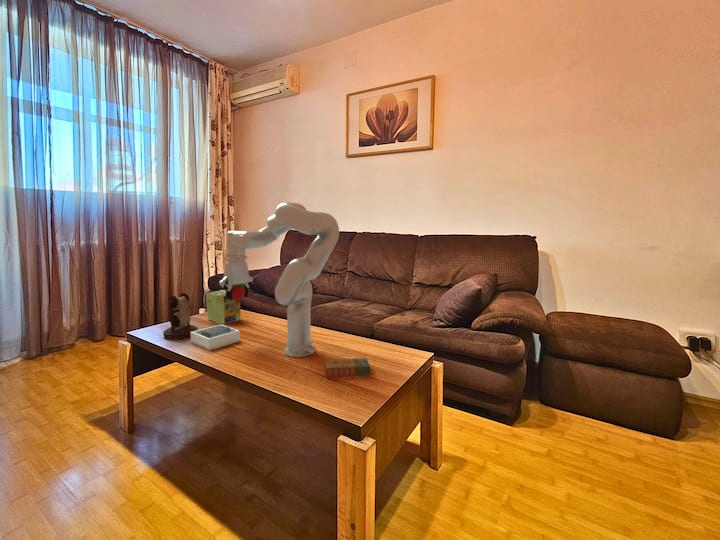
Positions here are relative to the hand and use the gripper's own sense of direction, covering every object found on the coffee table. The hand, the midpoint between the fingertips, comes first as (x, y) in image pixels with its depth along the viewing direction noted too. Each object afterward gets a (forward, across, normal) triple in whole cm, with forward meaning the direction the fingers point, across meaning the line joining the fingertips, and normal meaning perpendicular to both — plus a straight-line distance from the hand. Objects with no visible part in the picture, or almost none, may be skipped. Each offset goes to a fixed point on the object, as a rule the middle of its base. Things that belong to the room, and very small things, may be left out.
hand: (237, 297), depth 155 cm
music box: (+21, +12, -28) cm, 38 cm away
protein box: (+21, -15, -36) cm, 44 cm away
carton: (+20, -6, +60) cm, 63 cm away
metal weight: (+20, +7, -7) cm, 22 cm away
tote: (+21, +7, -7) cm, 23 cm away
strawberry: (+3, 0, 0) cm, 3 cm away
